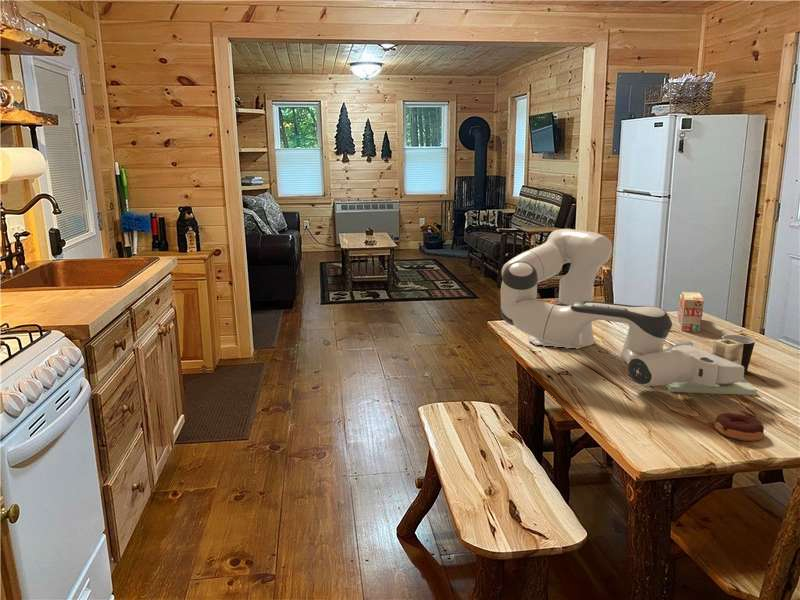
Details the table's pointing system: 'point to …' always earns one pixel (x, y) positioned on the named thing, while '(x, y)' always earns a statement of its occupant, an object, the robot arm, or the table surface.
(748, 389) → the peg board
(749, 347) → the coffee mug
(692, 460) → the table surface
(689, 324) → the stack of blocks
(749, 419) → the donut
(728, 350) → the sleeve
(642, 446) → the table surface
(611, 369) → the table surface
